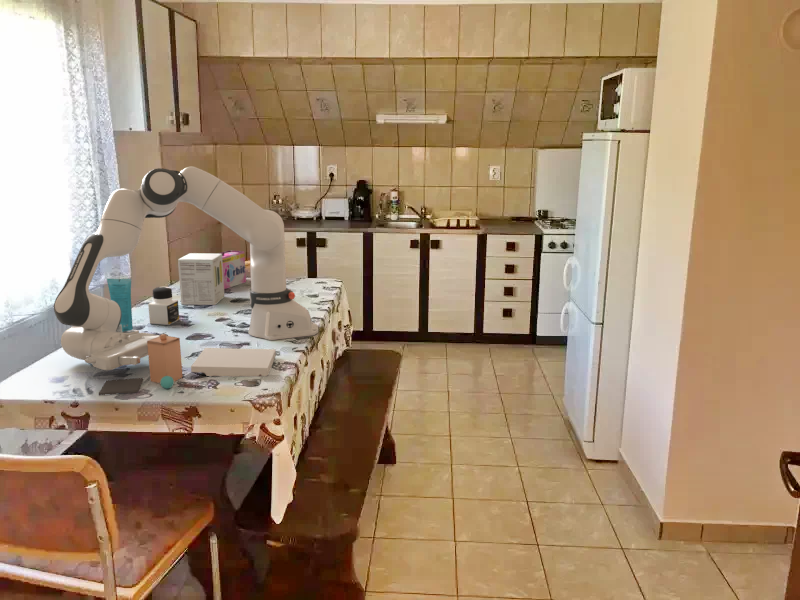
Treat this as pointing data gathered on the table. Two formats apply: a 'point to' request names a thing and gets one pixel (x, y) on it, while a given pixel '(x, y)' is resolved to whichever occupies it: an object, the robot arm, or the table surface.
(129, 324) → the tube
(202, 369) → the cream flat block
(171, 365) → the tan box with knob
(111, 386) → the mat
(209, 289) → the supplement box
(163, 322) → the medicine bottle
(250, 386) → the table surface
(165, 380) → the ball
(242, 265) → the gum box
